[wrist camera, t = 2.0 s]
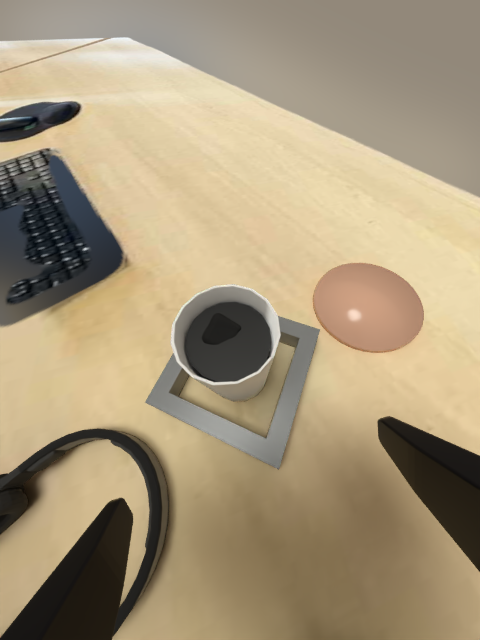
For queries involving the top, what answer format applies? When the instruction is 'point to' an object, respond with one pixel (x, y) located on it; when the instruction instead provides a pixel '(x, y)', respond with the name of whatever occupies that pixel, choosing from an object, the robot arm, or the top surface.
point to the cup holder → (228, 432)
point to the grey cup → (227, 340)
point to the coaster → (368, 307)
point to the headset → (10, 502)
